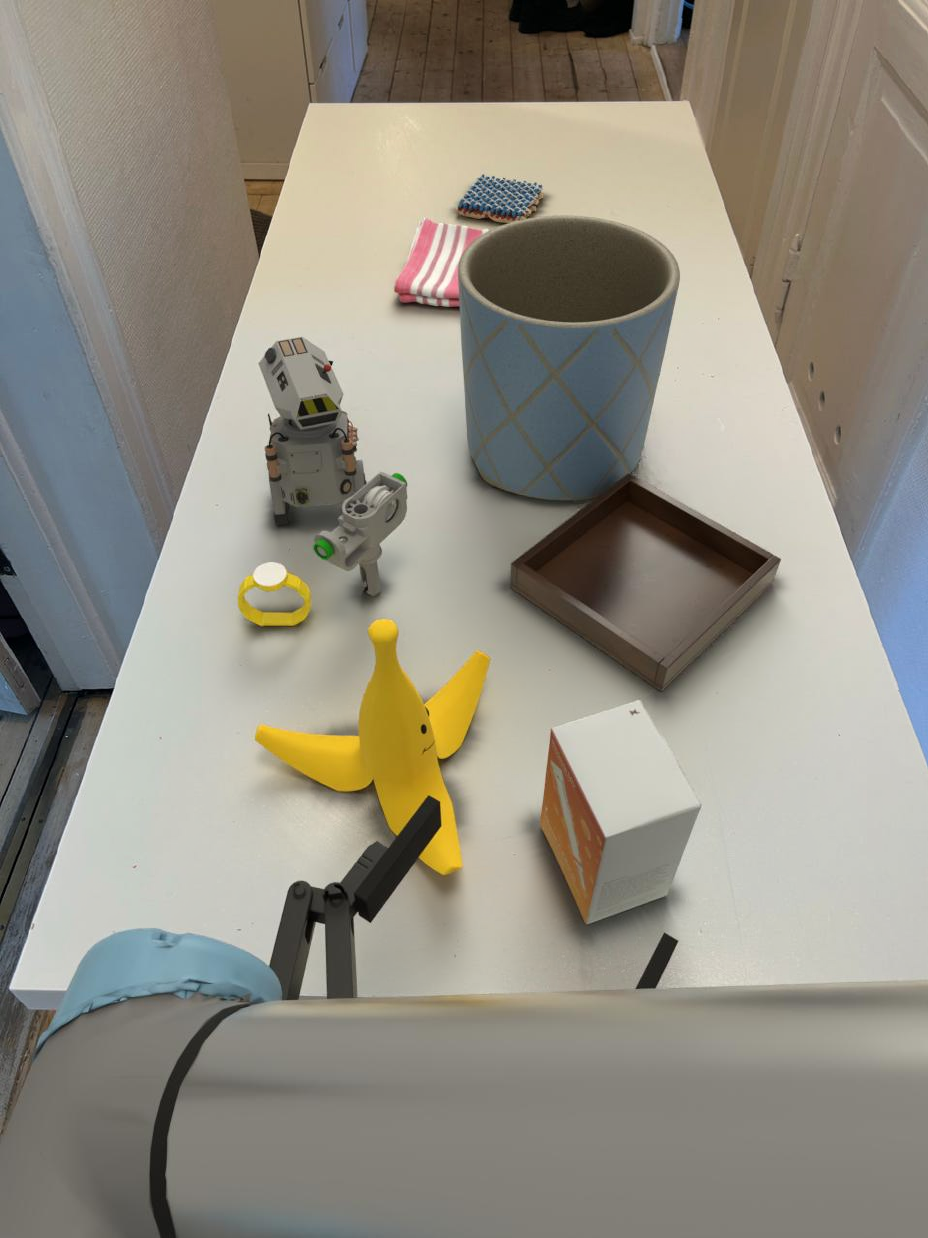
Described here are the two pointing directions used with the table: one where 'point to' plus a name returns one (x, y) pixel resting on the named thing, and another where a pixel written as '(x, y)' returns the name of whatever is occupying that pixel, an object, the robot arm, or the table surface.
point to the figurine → (308, 430)
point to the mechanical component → (365, 528)
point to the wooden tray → (644, 578)
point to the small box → (616, 810)
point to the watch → (273, 579)
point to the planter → (562, 351)
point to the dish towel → (434, 264)
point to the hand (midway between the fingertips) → (545, 874)
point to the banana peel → (394, 743)
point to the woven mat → (500, 200)
